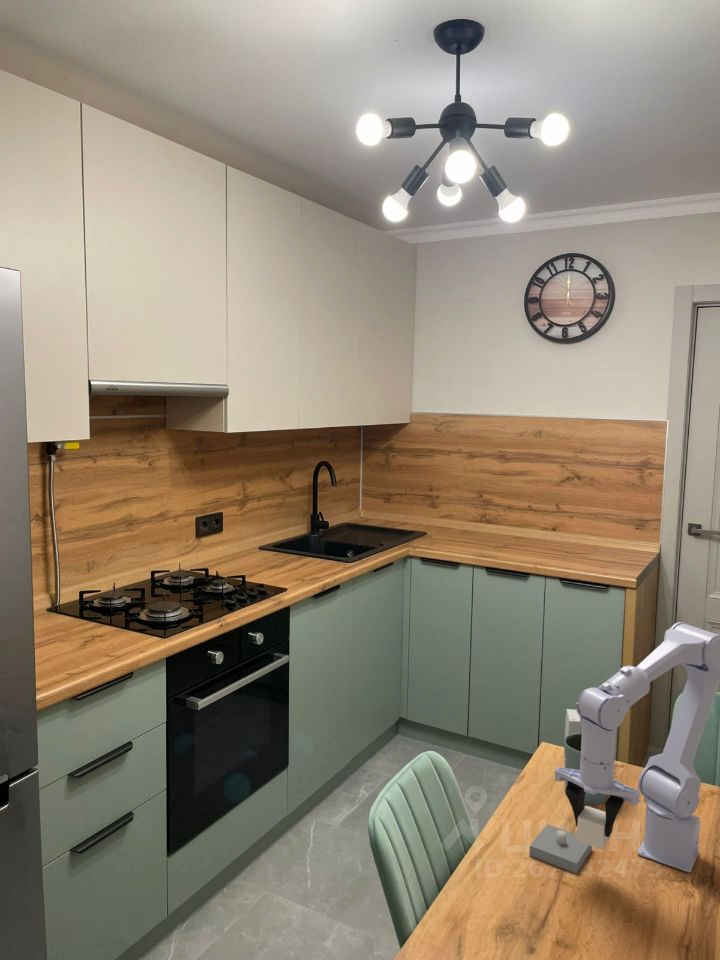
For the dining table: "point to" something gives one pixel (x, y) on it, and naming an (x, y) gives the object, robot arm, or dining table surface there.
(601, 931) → the dining table surface
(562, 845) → the stud block
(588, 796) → the teal cup
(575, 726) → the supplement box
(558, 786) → the dining table surface
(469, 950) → the dining table surface
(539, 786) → the dining table surface
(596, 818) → the cream colored cube
